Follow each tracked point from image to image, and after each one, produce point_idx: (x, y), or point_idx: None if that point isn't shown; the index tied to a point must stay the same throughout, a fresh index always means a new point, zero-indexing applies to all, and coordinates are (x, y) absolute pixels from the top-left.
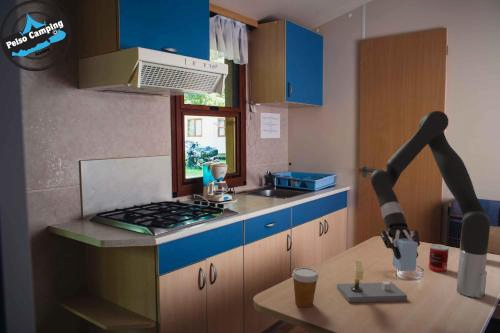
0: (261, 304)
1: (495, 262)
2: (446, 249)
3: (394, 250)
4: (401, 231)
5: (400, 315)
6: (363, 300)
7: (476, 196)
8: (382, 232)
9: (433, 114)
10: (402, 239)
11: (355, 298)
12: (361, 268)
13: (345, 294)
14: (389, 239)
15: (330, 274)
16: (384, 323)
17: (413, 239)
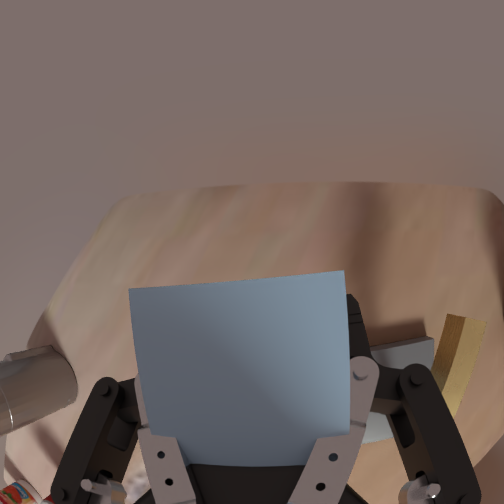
0: None
1: (4, 463)
2: (44, 501)
3: (366, 341)
4: None
5: (300, 257)
6: (384, 345)
7: None
8: (476, 495)
9: None
10: (266, 433)
11: (412, 342)
12: (458, 359)
13: (432, 363)
14: (422, 427)
15: (393, 499)
16: (366, 208)
17: (119, 465)
